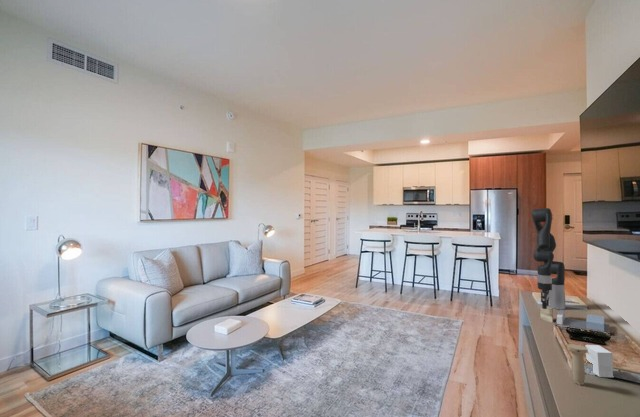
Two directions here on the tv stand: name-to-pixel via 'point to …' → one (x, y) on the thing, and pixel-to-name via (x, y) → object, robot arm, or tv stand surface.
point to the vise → (573, 322)
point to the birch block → (546, 314)
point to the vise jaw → (595, 322)
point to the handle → (578, 362)
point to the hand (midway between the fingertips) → (545, 307)
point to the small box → (600, 360)
